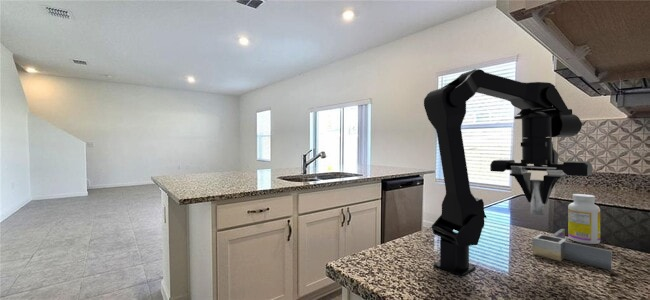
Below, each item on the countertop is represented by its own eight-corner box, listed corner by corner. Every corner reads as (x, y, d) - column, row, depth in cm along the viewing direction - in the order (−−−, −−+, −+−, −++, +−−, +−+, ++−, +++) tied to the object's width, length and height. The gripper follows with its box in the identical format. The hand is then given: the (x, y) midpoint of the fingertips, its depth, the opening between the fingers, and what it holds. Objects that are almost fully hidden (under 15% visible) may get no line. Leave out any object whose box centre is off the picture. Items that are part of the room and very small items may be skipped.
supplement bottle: (586, 237, 82) (587, 193, 82) (607, 245, 75) (607, 197, 75) (562, 236, 83) (562, 193, 83) (580, 244, 76) (580, 197, 76)
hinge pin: (542, 215, 66) (541, 181, 66) (529, 213, 68) (528, 180, 68) (545, 213, 67) (545, 180, 67) (532, 211, 69) (532, 179, 69)
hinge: (609, 273, 59) (609, 254, 59) (532, 254, 70) (532, 238, 69) (619, 255, 69) (619, 238, 68) (550, 241, 79) (550, 226, 79)
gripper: (596, 136, 65) (597, 203, 65) (505, 138, 80) (506, 194, 80) (586, 136, 58) (587, 211, 58) (489, 139, 73) (489, 199, 73)
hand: (537, 203), depth 68 cm, fingers closed on hinge pin, 3 cm apart
